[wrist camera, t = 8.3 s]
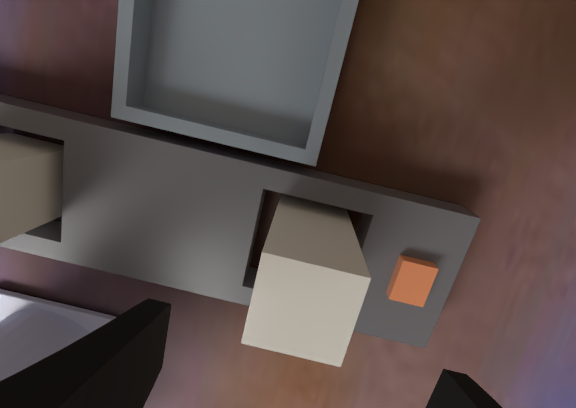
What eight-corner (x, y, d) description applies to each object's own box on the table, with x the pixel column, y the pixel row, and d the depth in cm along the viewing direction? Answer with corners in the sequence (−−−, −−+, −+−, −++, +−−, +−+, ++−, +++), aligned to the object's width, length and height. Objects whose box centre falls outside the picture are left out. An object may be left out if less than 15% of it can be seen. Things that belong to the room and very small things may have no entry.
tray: (314, 159, 16) (315, 166, 14) (134, 115, 16) (110, 117, 14) (370, -55, 13) (380, -83, 11) (154, -108, 13) (129, -144, 11)
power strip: (413, 322, 18) (429, 357, 16) (-29, 216, 18) (-82, 234, 16) (461, 205, 16) (488, 223, 14) (-36, 85, 16) (-100, 80, 14)
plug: (329, 268, 18) (340, 367, 11) (267, 253, 18) (240, 343, 11) (346, 209, 17) (371, 278, 10) (281, 193, 17) (261, 252, 10)
